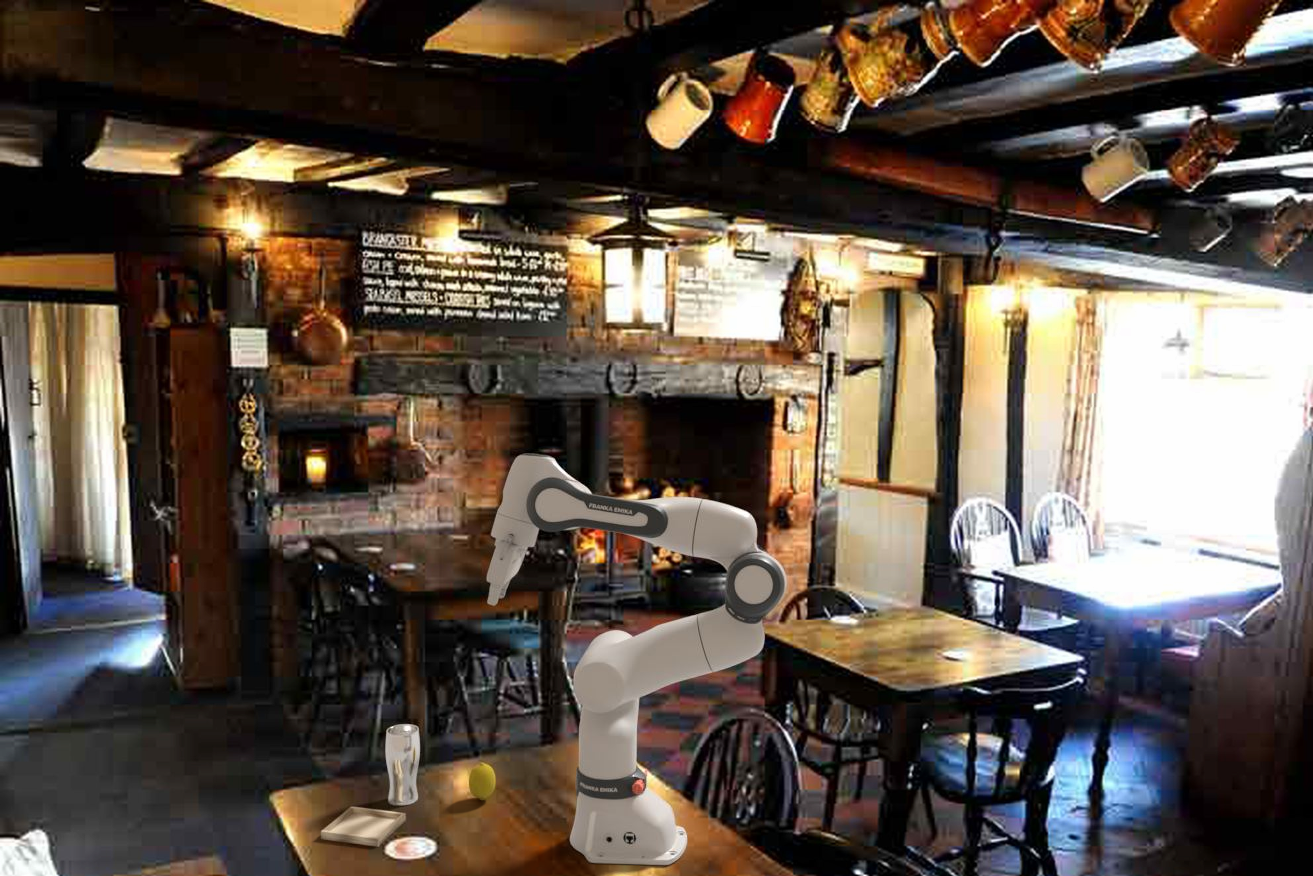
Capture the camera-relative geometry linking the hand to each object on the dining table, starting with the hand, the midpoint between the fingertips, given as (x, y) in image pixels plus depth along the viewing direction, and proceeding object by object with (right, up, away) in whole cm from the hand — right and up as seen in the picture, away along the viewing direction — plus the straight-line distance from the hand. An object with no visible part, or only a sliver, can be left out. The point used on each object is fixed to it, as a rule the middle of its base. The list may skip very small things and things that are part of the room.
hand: (495, 600), depth 193 cm
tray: (-26, -45, 0) cm, 51 cm away
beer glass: (-21, -44, +13) cm, 51 cm away
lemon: (-5, -44, +13) cm, 46 cm away
